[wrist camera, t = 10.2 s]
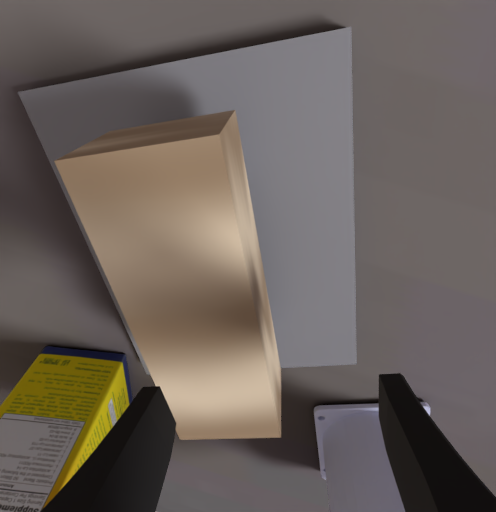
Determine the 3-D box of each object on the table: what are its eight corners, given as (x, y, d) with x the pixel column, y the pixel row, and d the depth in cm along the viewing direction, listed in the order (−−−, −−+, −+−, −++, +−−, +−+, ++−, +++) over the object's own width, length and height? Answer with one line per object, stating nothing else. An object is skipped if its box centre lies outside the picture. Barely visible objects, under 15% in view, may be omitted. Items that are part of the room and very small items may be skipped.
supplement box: (62, 396, 28) (-46, 573, 19) (45, 343, 25) (-95, 523, 16) (136, 405, 28) (63, 588, 19) (128, 352, 25) (36, 540, 15)
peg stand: (353, 352, 23) (363, 391, 20) (151, 363, 25) (137, 400, 23) (346, 27, 14) (362, 24, 11) (31, 89, 16) (-16, 98, 13)
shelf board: (281, 369, 20) (281, 437, 17) (196, 374, 21) (180, 439, 17) (235, 109, 13) (218, 134, 10) (110, 130, 14) (53, 161, 10)
